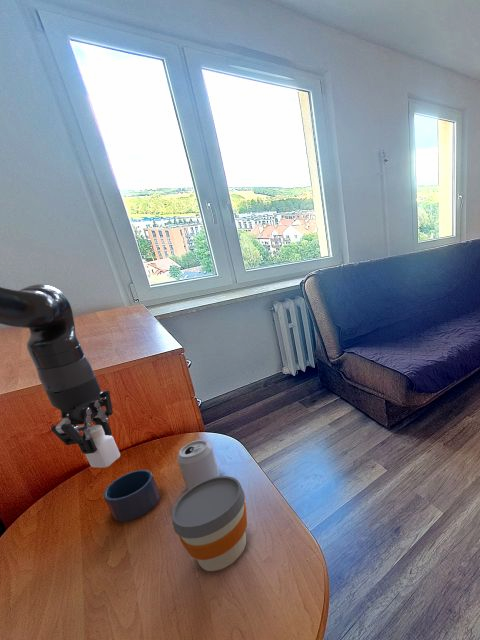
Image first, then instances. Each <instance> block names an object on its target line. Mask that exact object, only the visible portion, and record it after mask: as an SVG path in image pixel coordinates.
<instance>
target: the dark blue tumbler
mask: <svg viewBox="0 0 480 640" xmlns="http://www.w3.org/2000/svg"><path fill="white" fill-rule="evenodd" d="M103 498H104V501H105V503H106V505H107V507H108V510H109V511H110V513H111V516H112V518H113V519H114V520H115V521H116V522H121V523H122V522H124V523H125V522H129V521H133V520H136V519H138V518H140V517H143V516H144V515H146V514H147V513H149V512H150V511H151V510H153V508H154V507H155V506H156V505H158V502H159V500H160V498H161V494H160V491H159V489H158V486H157V482H156V480H155V478H154V476H153V472H152V471H150V470H148V469H137V470H134V471H130V472H128V473H125V474H123V475H121V476H119V477H118V478H116V479H115V480H113V481H112V482H111V483H110V484H109V485H107V486H106V488H105V490H104V492H103Z"/></svg>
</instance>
